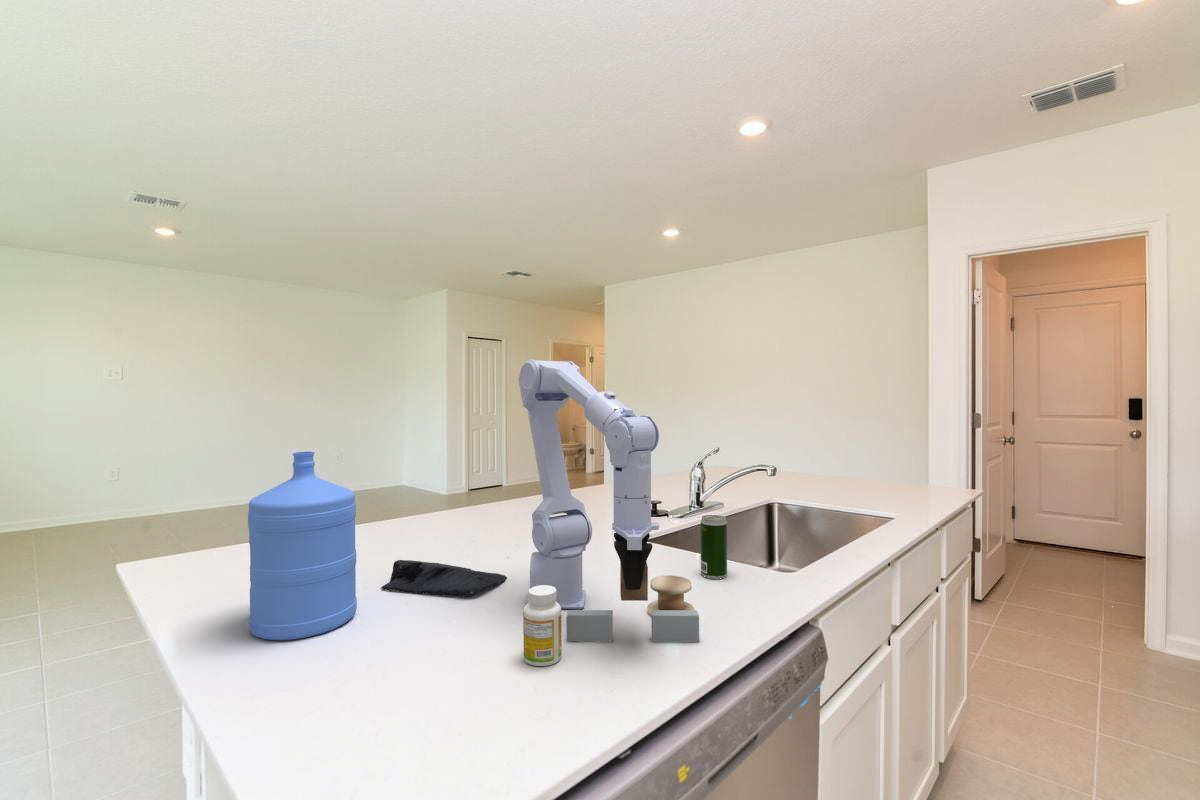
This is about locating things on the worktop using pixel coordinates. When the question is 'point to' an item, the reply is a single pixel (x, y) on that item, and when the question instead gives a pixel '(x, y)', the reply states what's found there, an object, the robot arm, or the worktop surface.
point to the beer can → (714, 546)
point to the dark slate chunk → (439, 579)
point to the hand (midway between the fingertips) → (632, 584)
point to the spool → (670, 593)
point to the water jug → (302, 556)
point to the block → (634, 594)
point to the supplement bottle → (542, 627)
